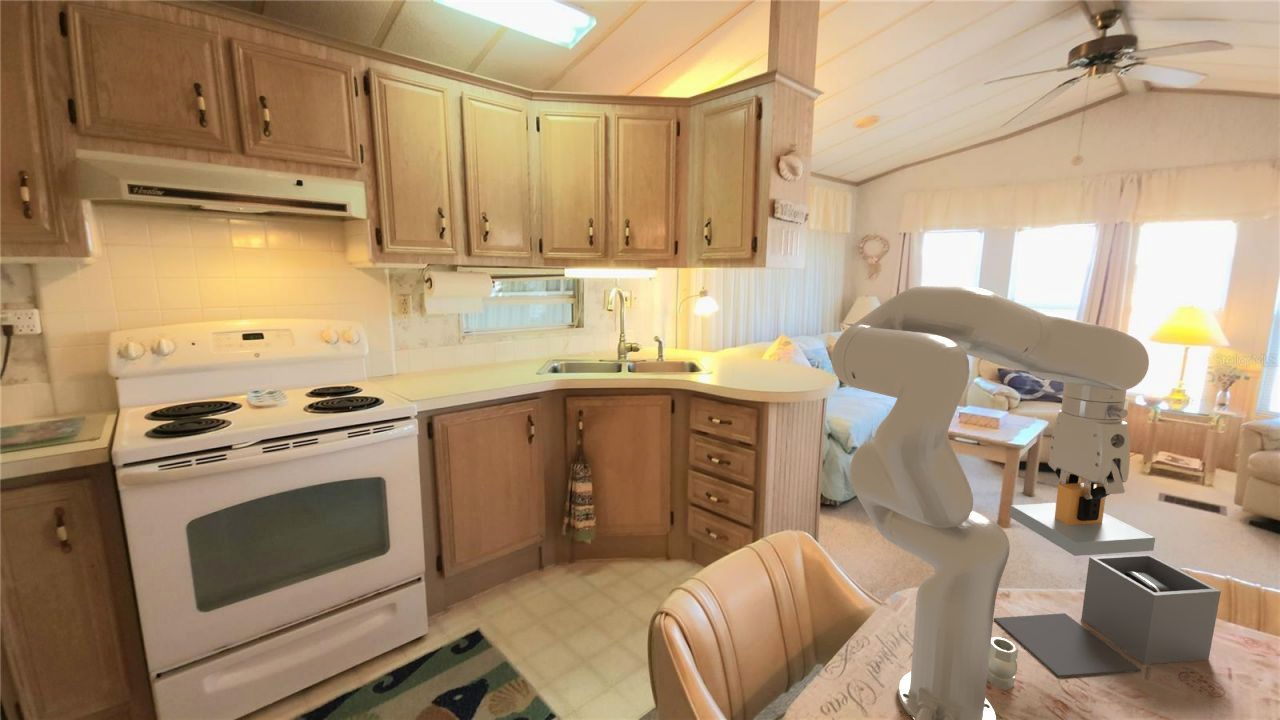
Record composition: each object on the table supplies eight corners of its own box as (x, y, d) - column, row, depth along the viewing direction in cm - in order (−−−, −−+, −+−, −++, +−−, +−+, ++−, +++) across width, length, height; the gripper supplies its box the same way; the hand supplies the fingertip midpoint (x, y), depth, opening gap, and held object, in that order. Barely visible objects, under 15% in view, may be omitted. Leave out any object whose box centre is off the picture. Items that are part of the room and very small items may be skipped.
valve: (1029, 692, 80) (983, 638, 92) (1034, 654, 79) (986, 604, 91) (985, 691, 81) (945, 638, 92) (989, 653, 80) (947, 604, 91)
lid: (1074, 555, 80) (1080, 506, 79) (1009, 516, 93) (1014, 473, 91) (1153, 550, 81) (1160, 501, 79) (1078, 512, 94) (1083, 469, 92)
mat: (1058, 677, 83) (1058, 675, 83) (993, 619, 97) (994, 618, 97) (1140, 671, 84) (1140, 669, 84) (1064, 615, 98) (1065, 613, 97)
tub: (1143, 664, 85) (1154, 595, 83) (1081, 619, 96) (1089, 557, 94) (1208, 659, 86) (1220, 591, 84) (1138, 615, 97) (1148, 553, 95)
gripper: (1167, 421, 76) (1149, 538, 79) (1069, 395, 91) (1058, 493, 94) (1118, 423, 75) (1102, 541, 78) (1029, 397, 91) (1019, 496, 94)
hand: (1078, 514), depth 86 cm, fingers closed on lid, 2 cm apart
